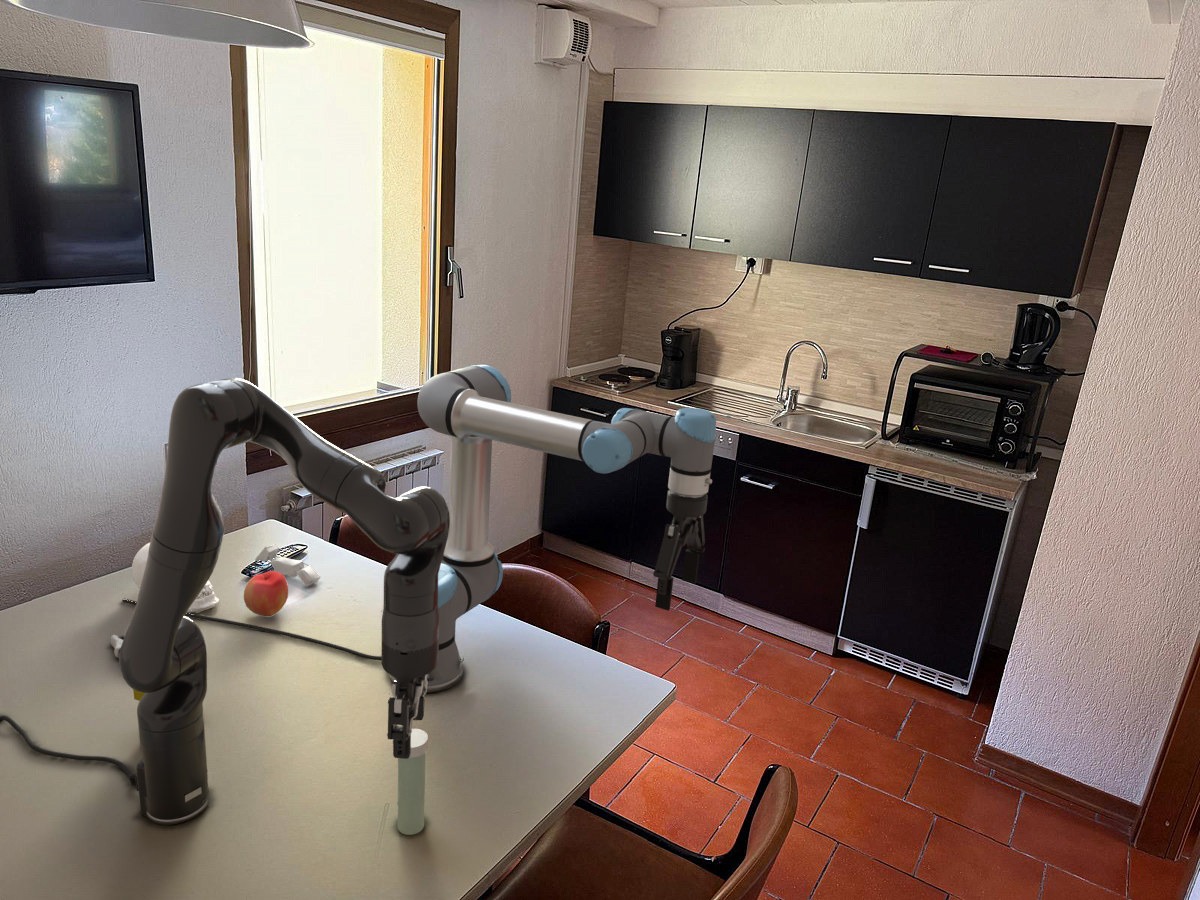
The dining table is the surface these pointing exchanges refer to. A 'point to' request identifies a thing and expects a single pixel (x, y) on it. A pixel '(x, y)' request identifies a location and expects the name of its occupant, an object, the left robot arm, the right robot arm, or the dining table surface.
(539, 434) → the right robot arm
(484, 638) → the dining table surface
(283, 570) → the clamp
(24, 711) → the dining table surface
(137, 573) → the skull
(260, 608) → the apple
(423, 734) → the lid
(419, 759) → the pale green cylinder
